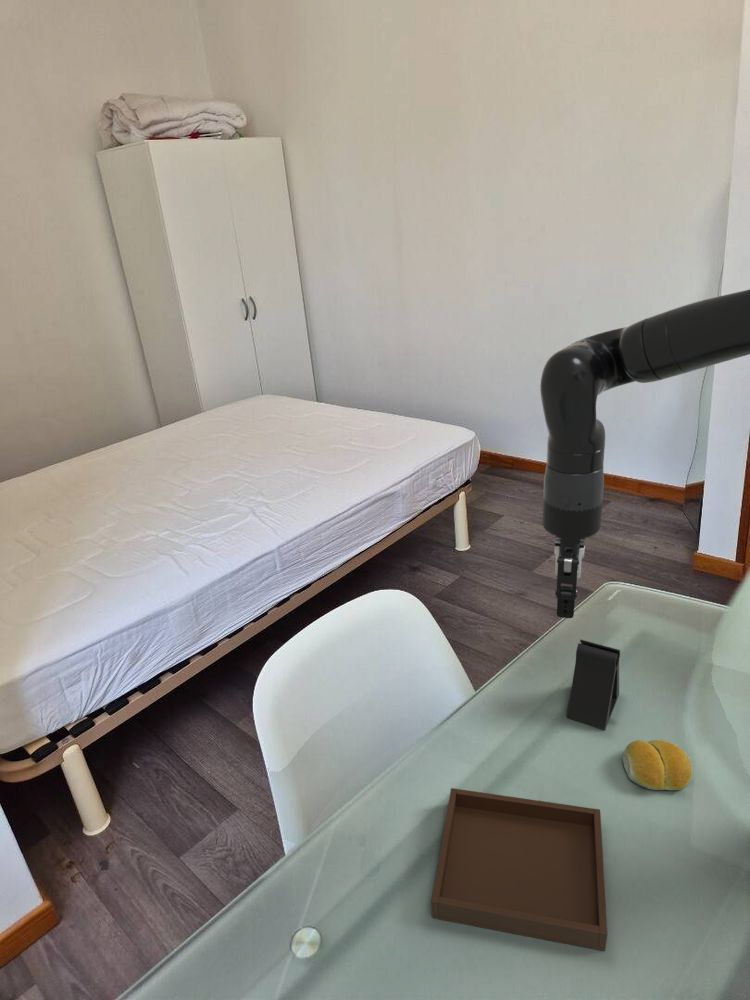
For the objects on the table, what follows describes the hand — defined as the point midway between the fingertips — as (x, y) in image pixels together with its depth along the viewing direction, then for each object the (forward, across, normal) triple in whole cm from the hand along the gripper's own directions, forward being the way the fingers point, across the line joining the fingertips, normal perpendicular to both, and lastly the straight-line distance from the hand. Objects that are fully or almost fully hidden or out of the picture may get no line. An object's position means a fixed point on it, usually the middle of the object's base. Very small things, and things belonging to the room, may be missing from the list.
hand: (566, 598), depth 97 cm
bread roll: (+24, -6, -14) cm, 28 cm away
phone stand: (+24, +6, -5) cm, 26 cm away
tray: (+24, -26, +3) cm, 35 cm away
